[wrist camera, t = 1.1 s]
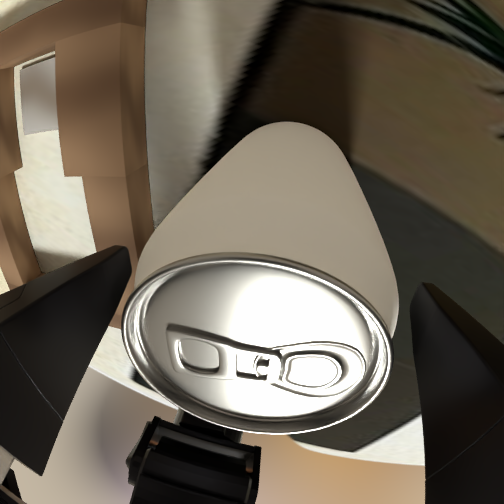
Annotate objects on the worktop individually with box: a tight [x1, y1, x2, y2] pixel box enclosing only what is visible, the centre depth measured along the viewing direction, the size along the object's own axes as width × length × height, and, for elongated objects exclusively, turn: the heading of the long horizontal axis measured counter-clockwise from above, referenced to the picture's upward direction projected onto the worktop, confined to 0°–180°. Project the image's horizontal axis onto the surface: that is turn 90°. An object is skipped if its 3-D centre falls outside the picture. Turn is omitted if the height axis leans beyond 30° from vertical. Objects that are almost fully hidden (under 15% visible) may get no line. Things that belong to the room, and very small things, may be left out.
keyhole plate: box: [0, 0, 154, 329], centre depth 17 cm, size 22×16×2 cm
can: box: [121, 122, 399, 434], centre depth 11 cm, size 6×6×12 cm
